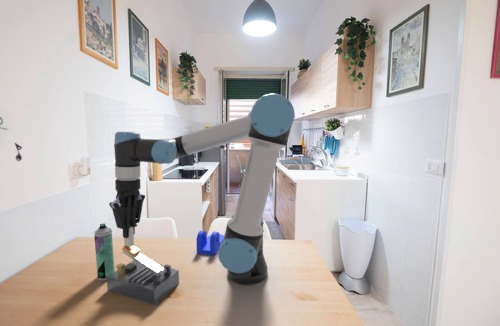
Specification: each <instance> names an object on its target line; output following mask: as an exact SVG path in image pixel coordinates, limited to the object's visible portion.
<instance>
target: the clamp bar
mask: <svg viewBox="0 0 500 326" xmlns="http://www.w3.org/2000/svg"><path fill="white" fill-rule="evenodd" d="M121 250H122V253H123V254H124V256H127V257H129V258H130V259H131V260H132V261H136V262H137V263H139V264H141V265H142V266H144V267H145V268H147V269H148V270H150V271H151V272H153V273H158V274H160V277H161V276H163V275H164V274H165V273H167V269H166V268H163V267H164V266H163V267H161V266H160V264H157V263H158V262H155V261H153V259H150V258H149V257H147V256H146V255H145V254H143V253H142V252H141V249H140V248H138V247H137V246H135V244H134V245H133V246H131V247H129V246H125V245H123V246H122V249H121Z"/></svg>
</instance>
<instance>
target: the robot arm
mask: <svg viewBox="0 0 500 326" xmlns="http://www.w3.org/2000/svg"><path fill="white" fill-rule="evenodd" d="M295 115H296V114H295V108H294V106H293V103H292V101H290V100H289V99H288V98H287V97H285V96H283V95H282V94H279V93H268V94H264V95H262V96H261V97H259V98H258V99H257V100H256V101H255V103H253V106H252V108H251V111H249V112H248V114H247V115H245V116H241V117H238V118H235V119H231V120H228V121H225V122H222V123H219V124H216V125H213V126H209V127H206V128H203V129H200V130H196V131H193V132H190V133H187V134H184V135H179V136H176V137H173V138H164V139H163V138H161V139H153V138H151V139H150V138H141V134H140V132H138V131H117V132H115V134H114V144H113V149H114V160H115V163H114V177H115V178H116V179H115V191H116V195H115V199H114V201H111V202H109V203H108V205H109V207H110V208H111V209H112V213H113V214H112V215H113V216H114V217H113V218H114V220H115V224H116V228H117V229H121V230H122V237H123V240H124V241H123V242H124V245H123V246H129V247H131V246H133V245H134V246H135V244H134V243H135V241H134V240H135V233H136V228H137V227H138V224H139V223H140V221H141V215H142V211H143V210H142V209H143V204H144V200H145V198H146V195H145V194H141V192H140V189H141V163H154V164H159V165H160V164H161V165H163V164H172V163H173V162H174V161H175V160H176V159H177V160H178V159H181V158H185V157H187V156H191V155H194V154H197V153H200V152H203V151H207V150H211V149H214V148H218V147H221V146H224V145H228V144H231V143H236V142H239V141H242V140H245V139H249V141H250V143H251V144H250V148H249V149H250V150H249V152H248V157H247V162H246V165H245V169H244V174H243V178H242V183H241V186H240V191H239V194H238V198H237V202H236V206H235V211H234V214H232V216H231V218H229V219H228V220H227V224H226V226H225V227H226V228H225V232H224V234H223V235H224V239H223V242H222V243H221V244H220V246H219V250H218V251H217V257H218V260H219V262H220V263H221V265H222V266H223V268H224V269H226V271H227V277H228V278H229V279H230V280H231V281H233V282H235V283H237V284H240V285H241V284H242V285H254V284H258V283H261V282H263V281H264V280H266V278H267V276H268V265H267V261H266V259H265V256H264V218H263V217H264V216H263V215H264V212H265V208H266V204H267V200H268V196H269V192H270V189H271V186H272V185H271V184H272V181H273V178H274V173H275V170H276V167H277V163H278V159H279V154H280V151H281V150H282V149H284V148H285V147H287V145H288V141H289V136H290V133H291V129H292V126H293V124H294V121H295V117H296V116H295Z"/></svg>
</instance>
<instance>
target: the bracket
mask: <svg viewBox="0 0 500 326" xmlns="http://www.w3.org/2000/svg"><path fill="white" fill-rule="evenodd" d="M196 235H197V237H196V254H197V255H207V256H208V255H209V256H216V254H218V250H219V246H220V244H221V243H222V242H223V239H224V235H225V234H221V233H220V232H218V231H212V233H211V234H209V235H207V232H206V230H199V231H198V232H197V234H196Z"/></svg>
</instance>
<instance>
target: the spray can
mask: <svg viewBox="0 0 500 326" xmlns="http://www.w3.org/2000/svg"><path fill="white" fill-rule="evenodd" d="M93 235H94V246H95V247H94V248H95V260H96V261H95V262H96V274H97V280H98V279H99V281H107V276H109V275H110V274H112V273H114V272H115V271H116V270H115V261H114V259H115V258H114V256H115V255H114V245H113V243H114V242H113V231H112V228H110V227H108V226H106V223H100V224H99V227H98V228H97V229H96V230H95V231H94V234H93Z"/></svg>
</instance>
